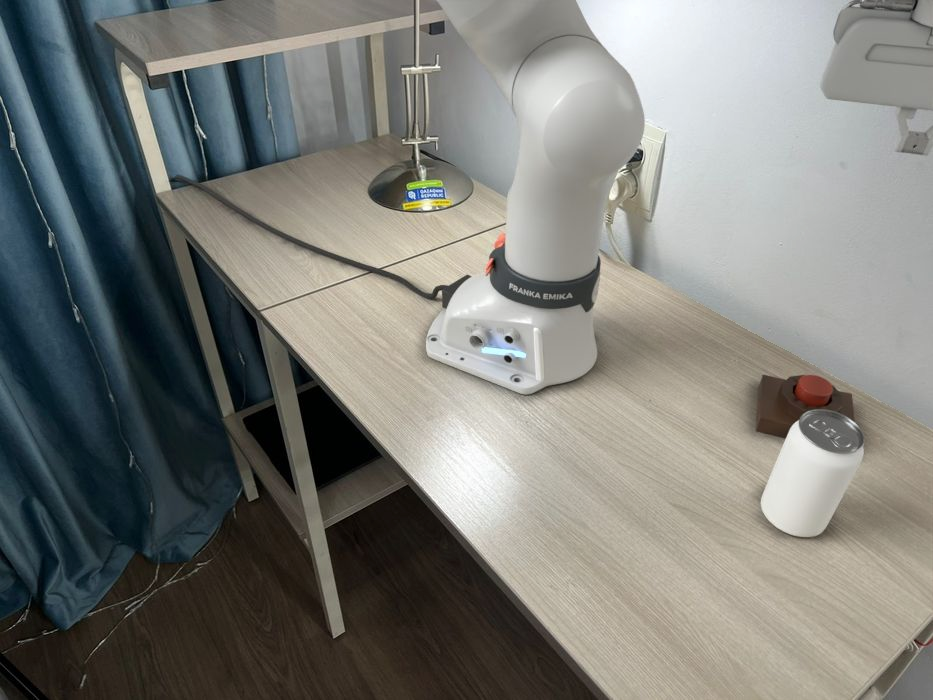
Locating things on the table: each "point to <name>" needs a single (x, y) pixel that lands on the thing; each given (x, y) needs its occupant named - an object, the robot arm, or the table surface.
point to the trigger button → (813, 390)
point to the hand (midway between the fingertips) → (910, 151)
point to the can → (812, 472)
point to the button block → (791, 405)
